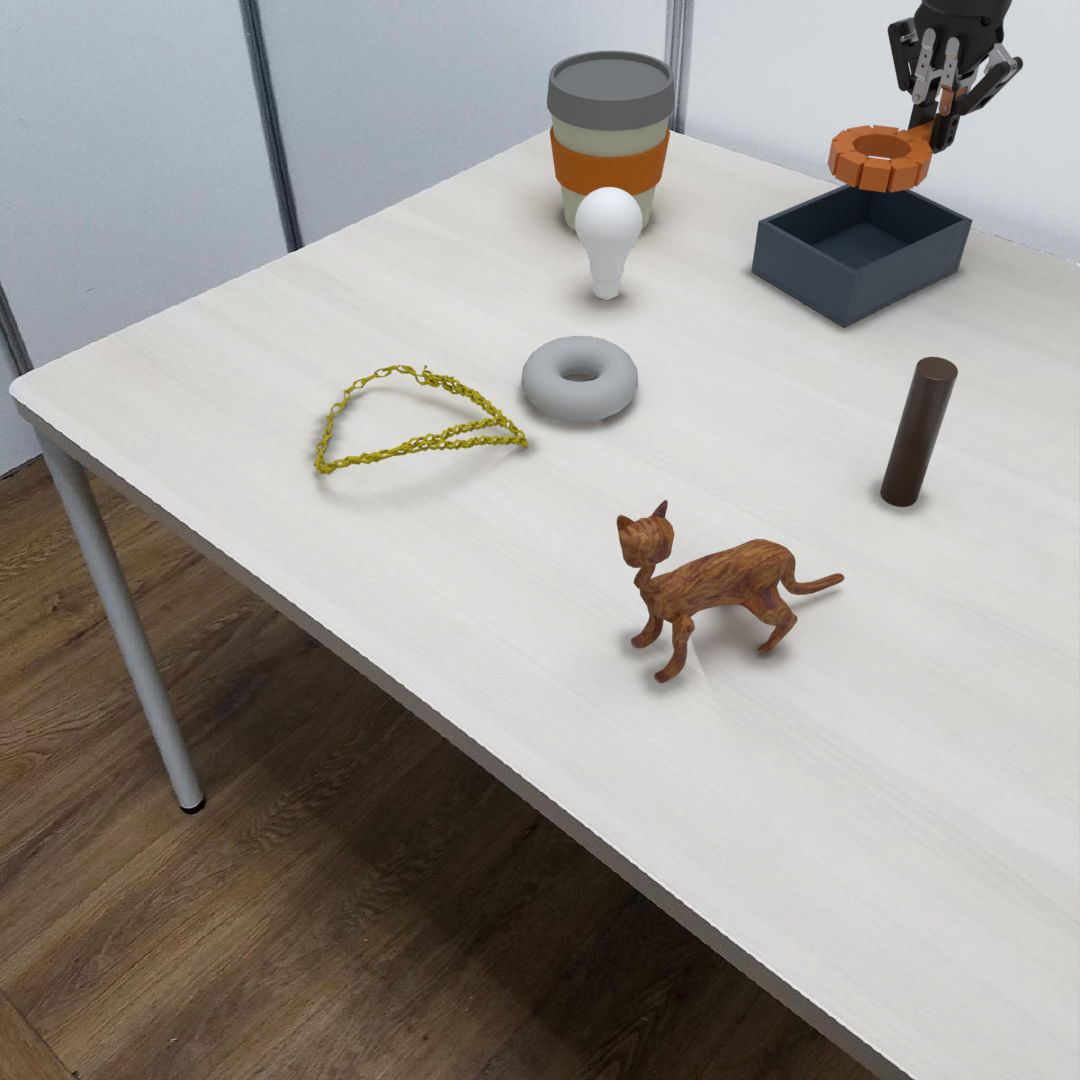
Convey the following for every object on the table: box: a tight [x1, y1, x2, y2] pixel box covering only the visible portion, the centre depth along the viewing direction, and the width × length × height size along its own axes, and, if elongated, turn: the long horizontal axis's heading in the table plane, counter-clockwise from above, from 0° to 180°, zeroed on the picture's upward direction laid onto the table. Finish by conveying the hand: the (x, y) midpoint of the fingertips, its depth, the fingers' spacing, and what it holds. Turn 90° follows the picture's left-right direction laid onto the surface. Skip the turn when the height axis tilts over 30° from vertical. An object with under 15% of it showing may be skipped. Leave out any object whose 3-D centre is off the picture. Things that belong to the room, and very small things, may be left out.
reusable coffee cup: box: [546, 50, 676, 233], centre depth 108 cm, size 13×12×15 cm
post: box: [879, 356, 959, 508], centre depth 78 cm, size 3×3×12 cm
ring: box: [827, 120, 934, 192], centre depth 98 cm, size 13×9×2 cm
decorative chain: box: [312, 364, 529, 476], centre depth 86 cm, size 16×15×5 cm
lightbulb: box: [575, 187, 642, 301], centre depth 99 cm, size 6×6×11 cm
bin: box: [751, 183, 973, 328], centre depth 103 cm, size 16×12×6 cm
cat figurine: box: [616, 499, 846, 684], centre depth 68 cm, size 18×7×14 cm, turn 114°
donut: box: [520, 335, 639, 423], centre depth 91 cm, size 10×4×10 cm
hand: (927, 145), depth 100 cm, fingers closed on ring, 1 cm apart
